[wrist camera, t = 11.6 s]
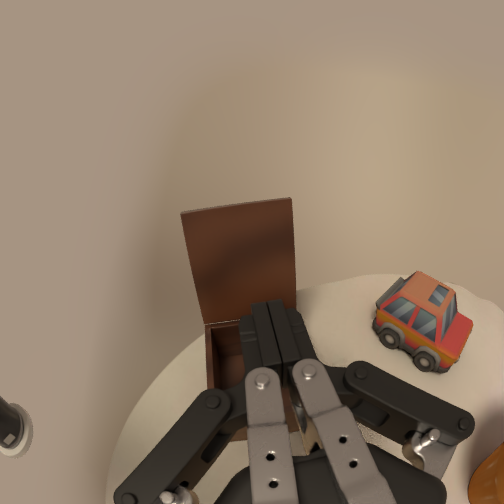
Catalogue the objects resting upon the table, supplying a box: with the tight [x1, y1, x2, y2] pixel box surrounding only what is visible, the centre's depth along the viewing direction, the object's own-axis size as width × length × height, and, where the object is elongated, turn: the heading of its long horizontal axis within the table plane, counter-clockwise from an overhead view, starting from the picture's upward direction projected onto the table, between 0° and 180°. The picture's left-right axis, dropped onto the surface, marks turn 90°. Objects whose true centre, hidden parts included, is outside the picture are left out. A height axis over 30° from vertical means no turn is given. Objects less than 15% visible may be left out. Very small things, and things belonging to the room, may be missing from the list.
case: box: [205, 320, 300, 442], centre depth 32 cm, size 15×13×8 cm
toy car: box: [373, 271, 473, 373], centre depth 35 cm, size 12×17×10 cm
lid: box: [180, 197, 296, 324], centre depth 33 cm, size 15×13×1 cm
